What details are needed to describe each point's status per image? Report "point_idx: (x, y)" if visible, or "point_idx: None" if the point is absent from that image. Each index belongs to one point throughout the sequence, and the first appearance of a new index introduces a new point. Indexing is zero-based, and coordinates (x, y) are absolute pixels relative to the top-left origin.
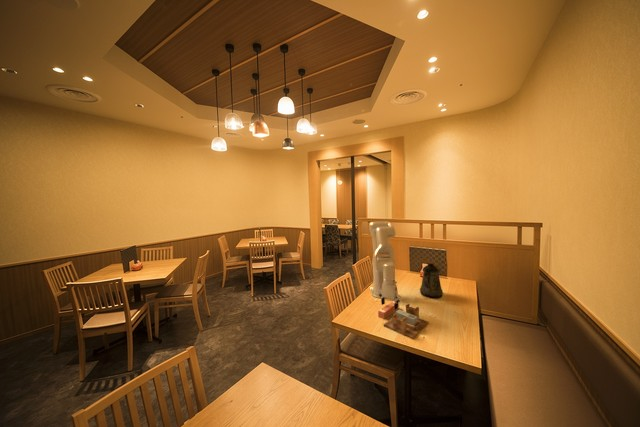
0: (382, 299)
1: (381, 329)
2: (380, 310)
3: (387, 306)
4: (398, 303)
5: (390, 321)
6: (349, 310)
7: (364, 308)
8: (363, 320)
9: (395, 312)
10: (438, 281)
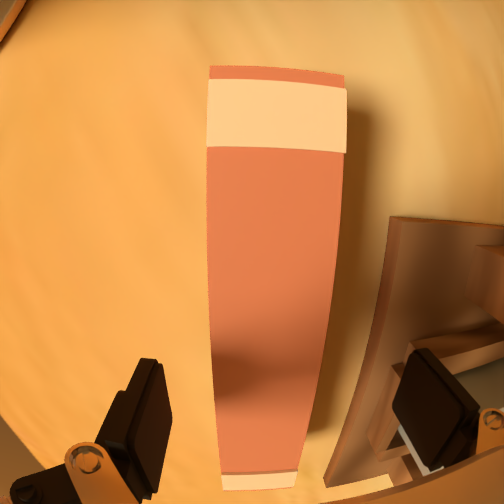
0: (152, 491)
1: (323, 493)
2: (241, 486)
3: (247, 380)
4: (339, 86)
5: (358, 450)
6: (33, 448)
7: (39, 389)
8: (180, 497)
9: (421, 470)
10: None
